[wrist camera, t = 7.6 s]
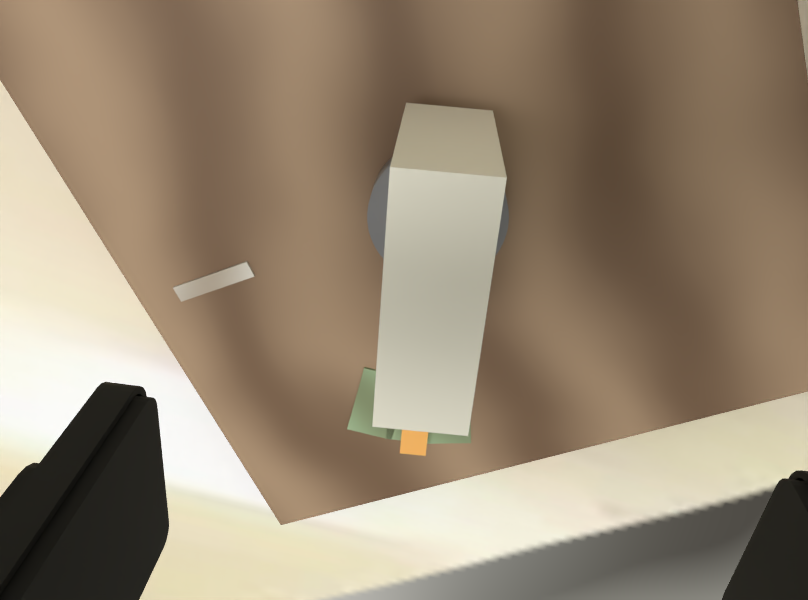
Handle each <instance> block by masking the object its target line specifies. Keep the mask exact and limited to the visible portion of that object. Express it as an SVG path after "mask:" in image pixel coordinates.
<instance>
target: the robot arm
mask: <svg viewBox="0 0 808 600" xmlns="http://www.w3.org/2000/svg"><path fill="white" fill-rule="evenodd" d="M168 529H169V518H168V508H167V498H166V489H165V479H164V469H163V459H162V449H161V439H160V429H159V419H158V409H157V403H156V400H155V399H154V398H151V397H147V396H146V391H145V390H144V388H143V387H140V386H133V385H125V384H118V383H110V382H104V383H101V384H100V385H99V386H98V387H97V389H96V390H95V391H94V392H93V394H92V395H91V396H90V398H89V399H88V400H87V402H86V403H85V404H84V406H83V407H82V408H81V410H80V411H79V412H78V413H77V415H76V416H75V417H74V419H73V420H72V421H71V423H70V424H69V425H68V427H67V428H66V429H65V431H64V432H63V433H62V434H61V436H60V437H59V438H58V440H57V441H56V442H55V444H54V445H53V446H52V448H51V449H50V450H49V451H48V453H47V454H46V455H45V457H44V458H43V459H42V461H41V462H40V463H32V464H30V465H28V466H26V467H25V468H24V469H23V470H22V471H21V472H20V473H19V474H18V475H17V477H16V478H15V479H14V481H13V482H12V483H11V484H10V486H9V487H8V488H7V489H6V491H5V492H4V493H3V495H2V496H1V497H0V600H139V599H140V596H141V594H142V592H143V590H144V588H145V586H146V584H147V582H148V580H149V577H150V575H151V573H152V571H153V569H154V567H155V565H156V563H157V561H158V558H159V556H160V554H161V552H162V550H163V548H164V545H165V543H166V539H167V535H168ZM722 600H808V471H795V472H794V473H792V474H791V476H790V477H789V479H782V480H780V481H779V482H778V484H777V485H776V487H775V489H774V491H773V493H772V496H771V498H770V500H769V502H768V504H767V506H766V508H765V510H764V512H763V514H762V516H761V518H760V521H759V522H758V524H757V527H756V529H755V531H754V533H753V535H752V537H751V539H750V541H749V543H748V545H747V547H746V550H745V551H744V553H743V555H742V558H741V560H740V562H739V564H738V566H737V568H736V570H735V572H734V574H733V576H732V578H731V580H730V582H729V584H728V586H727V588H726V590H725V593H724V595H723V598H722Z"/></svg>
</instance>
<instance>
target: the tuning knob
mask: <svg viewBox="0 0 808 600" xmlns="http://www.w3.org/2000/svg"><path fill="white" fill-rule="evenodd" d="M506 180H507V176H506V171H505V166H504V161H503V157H502V152H501V147H500V142H499V137H498V133H497V128H496V123H495V118H494V113H493V110H482V109H470V108H459V107H448V106H437V105H426V104H415V103H406V105H405V109H404V113H403V117H402V121H401V125H400V129H399V133H398V137H397V141H396V145H395V149H394V153H393V157H392V158H391V159H390V160H388V161H387V163H386V164H385V165H384V166H383V168H382V169H381V171H380V173H379V174H378V176H377V178H376V181H375V183H374V186H373V190H372V193H371V196H370V200H369V204H368V211H367V223H368V230H369V233H370V237H371V240H372V242H373V244H374V246H375V248H376V249H377V251H378V253H379V254H380V255H381V257H382V258H383V259H384V261H383V276H382V291H381V306H380V320H379V335H378V350H377V364H376V379H375V394H374V409H373V423H372V427H380V428H391V429H401V430H402V434H401V445H400V453H401V454H412V455H422V456H426V448H427V439H428V432H431V433H441V434H452V435H462V436H468V433H469V427H470V420H471V413H472V407H473V400H474V393H475V387H476V380H477V373H478V367H479V360H480V353H481V347H482V340H483V333H484V327H485V320H486V313H487V307H488V300H489V294H490V287H491V280H492V274H493V267H494V260H495V256H496V254H497V253H498V251H499V250H500V248H501V246H502V244H503V242H504V240H505V237H506V234H507V230H508V224H509V209H508V204H507V199H506V193H505V187H506Z"/></svg>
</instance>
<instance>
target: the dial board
mask: <svg viewBox="0 0 808 600" xmlns="http://www.w3.org/2000/svg"><path fill="white" fill-rule="evenodd" d="M0 80H1V82H2V83H3V85H4V86H5V88H6V90H7V91H8V93H9V94H10V96H11V98H12V99H13V101H14V102H15V104H16V106H17V107H18V109H19V110H20V112H21V113H22V115H23V117H24V118H25V120H26V121H27V123H28V125H29V126H30V128H31V129H32V131H33V132H34V134H35V136H36V137H37V139H38V140H39V142H40V144H41V145H42V147H43V148H44V150H45V152H46V153H47V155H48V156H49V158H50V159H51V161H52V163H53V164H54V166H55V167H56V169H57V171H58V172H59V174H60V175H61V177H62V178H63V180H64V182H65V183H66V185H67V186H68V188H69V190H70V191H71V193H72V194H73V196H74V197H75V199H76V201H77V202H78V204H79V205H80V207H81V209H82V210H83V212H84V213H85V215H86V217H87V218H88V220H89V221H90V223H91V224H92V226H93V228H94V229H95V231H96V232H97V234H98V236H99V237H100V239H101V240H102V242H103V243H104V245H105V247H106V248H107V250H108V251H109V253H110V255H111V256H112V258H113V259H114V261H115V263H116V264H117V266H118V267H119V269H120V270H121V272H122V274H123V275H124V277H125V278H126V280H127V282H128V283H129V285H130V286H131V288H132V289H133V291H134V293H135V294H136V296H137V297H138V299H139V301H140V302H141V304H142V305H143V307H144V308H145V310H146V312H147V313H148V315H149V316H150V318H151V320H152V321H153V323H154V324H155V326H156V328H157V329H158V331H159V332H160V334H161V335H162V337H163V339H164V340H165V342H166V343H167V345H168V347H169V348H170V350H171V351H172V353H173V354H174V356H175V358H176V359H177V361H178V362H179V364H180V366H181V367H182V369H183V370H184V372H185V374H186V375H187V377H188V378H189V380H190V381H191V383H192V385H193V386H194V388H195V389H196V391H197V393H198V394H199V396H200V397H201V399H202V400H203V402H204V404H205V405H206V407H207V408H208V410H209V412H210V413H211V415H212V416H213V418H214V419H215V421H216V423H217V424H218V426H219V427H220V429H221V431H222V432H223V434H224V435H225V437H226V439H227V440H228V442H229V443H230V445H231V446H232V448H233V450H234V451H235V453H236V454H237V456H238V458H239V459H240V461H241V462H242V464H243V465H244V467H245V469H246V470H247V472H248V473H249V475H250V477H251V478H252V480H253V481H254V483H255V485H256V486H257V488H258V489H259V491H260V492H261V494H262V496H263V497H264V499H265V500H266V502H267V504H268V505H269V507H270V508H271V510H272V511H273V513H274V515H275V516H276V518H277V519H278V521H279V523H280V524H281V525H283V524H287V523H291V522H295V521H299V520H303V519H306V518H310V517H314V516H318V515H322V514H326V513H330V512H334V511H338V510H342V509H346V508H350V507H354V506H358V505H362V504H366V503H370V502H373V501H377V500H381V499H385V498H389V497H393V496H397V495H401V494H405V493H409V492H413V491H417V490H421V489H425V488H429V487H433V486H437V485H440V484H444V483H448V482H452V481H456V480H460V479H464V478H468V477H472V476H476V475H480V474H484V473H488V472H492V471H496V470H500V469H504V468H507V467H511V466H515V465H519V464H523V463H527V462H531V461H535V460H539V459H543V458H547V457H551V456H555V455H559V454H563V453H567V452H571V451H575V450H578V449H582V448H586V447H590V446H594V445H598V444H602V443H606V442H610V441H614V440H618V439H622V438H626V437H630V436H634V435H638V434H642V433H645V432H649V431H653V430H657V429H661V428H665V427H669V426H673V425H677V424H681V423H685V422H689V421H693V420H697V419H701V418H705V417H709V416H712V415H716V414H720V413H724V412H728V411H732V410H736V409H740V408H744V407H748V406H752V405H756V404H760V403H764V402H768V401H772V400H776V399H779V398H783V397H787V396H791V395H795V394H799V393H803V392H807V391H808V78H807V70H806V63H805V55H804V48H803V40H802V33H801V25H800V17H799V10H798V2H797V0H0ZM406 103H415V104H426V105H437V106H448V107H459V108H470V109H482V110H493V113H494V118H495V123H496V128H497V133H498V137H499V142H500V147H501V152H502V157H503V161H504V166H505V171H506V176H507V180H506V187H505V193H506V199H507V204H508V209H509V224H508V230H507V234H506V237H505V240H504V242H503V244H502V246H501V248H500V250H499V251H498V253H497V254H496V256H495V260H494V267H493V274H492V280H491V287H490V294H489V300H488V307H487V313H486V320H485V327H484V333H483V340H482V347H481V353H480V360H479V367H478V373H477V380H476V387H475V393H474V400H473V407H472V413H471V420H470V427H469V433H468V436H462V435H452V434H441V433H431V432H428V439H427V448H426V456H422V455H412V454H401V453H400V445H401V434H402V430H401V429H391V428H380V427H372V423H373V409H374V394H375V379H376V364H377V350H378V335H379V320H380V306H381V291H382V276H383V261H384V259H383V258H382V257H381V255H380V254H379V253H378V251H377V249H376V248H375V246H374V244H373V242H372V240H371V237H370V233H369V230H368V223H367V211H368V204H369V200H370V196H371V193H372V190H373V186H374V183H375V181H376V178H377V176H378V174H379V173H380V171H381V169H382V168H383V166H384V165H385V164H386V163H387V161H388V160H390V159H391V158H392V157H393V153H394V149H395V145H396V141H397V137H398V133H399V129H400V125H401V121H402V117H403V113H404V109H405V105H406Z"/></svg>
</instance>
